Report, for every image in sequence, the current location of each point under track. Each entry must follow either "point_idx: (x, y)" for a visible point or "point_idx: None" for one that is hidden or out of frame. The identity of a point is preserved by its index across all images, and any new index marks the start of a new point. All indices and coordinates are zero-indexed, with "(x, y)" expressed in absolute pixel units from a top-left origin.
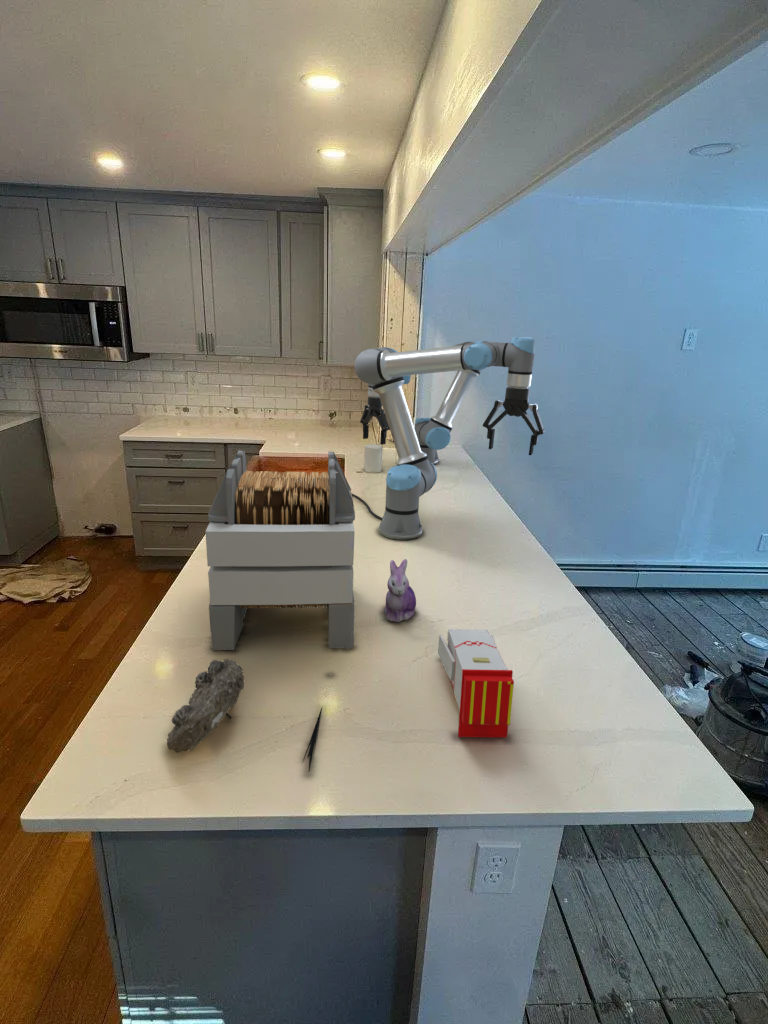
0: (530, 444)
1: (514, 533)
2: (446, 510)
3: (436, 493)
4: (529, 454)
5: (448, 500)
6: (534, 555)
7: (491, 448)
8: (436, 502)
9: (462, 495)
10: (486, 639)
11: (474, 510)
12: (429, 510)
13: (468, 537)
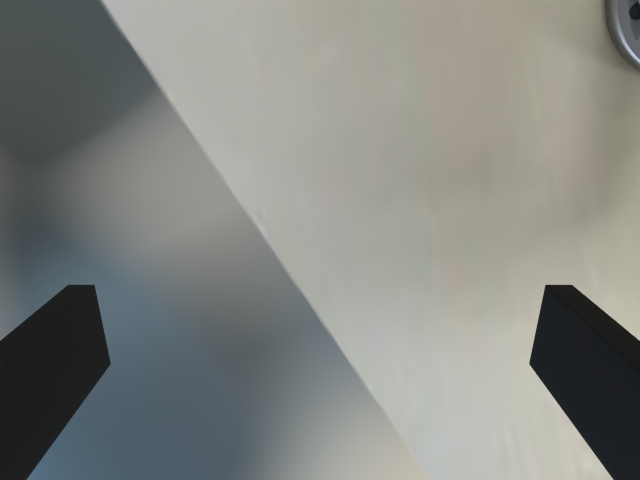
0: (3, 362)
1: (286, 221)
2: None
3: None
4: (81, 289)
5: None
6: (163, 53)
7: (542, 315)
8: None
9: (531, 456)
10: None
11: (464, 352)
12: (617, 274)
13: (424, 90)
